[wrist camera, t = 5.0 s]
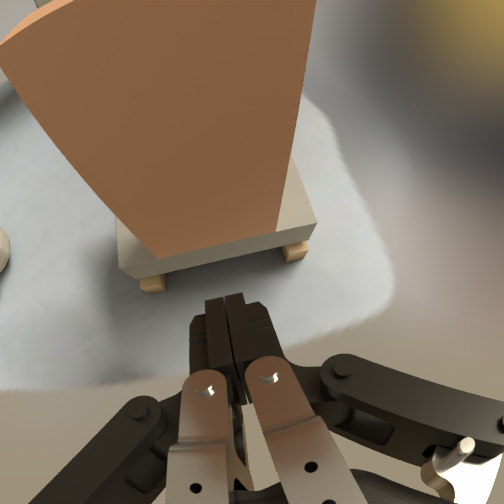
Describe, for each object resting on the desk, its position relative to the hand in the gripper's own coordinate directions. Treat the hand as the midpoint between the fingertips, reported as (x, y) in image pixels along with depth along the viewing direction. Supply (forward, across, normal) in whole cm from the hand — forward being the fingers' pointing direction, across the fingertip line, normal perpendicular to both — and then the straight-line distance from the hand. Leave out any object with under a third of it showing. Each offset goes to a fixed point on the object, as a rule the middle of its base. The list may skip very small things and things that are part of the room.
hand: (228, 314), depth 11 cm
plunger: (+10, 0, -2) cm, 10 cm away
